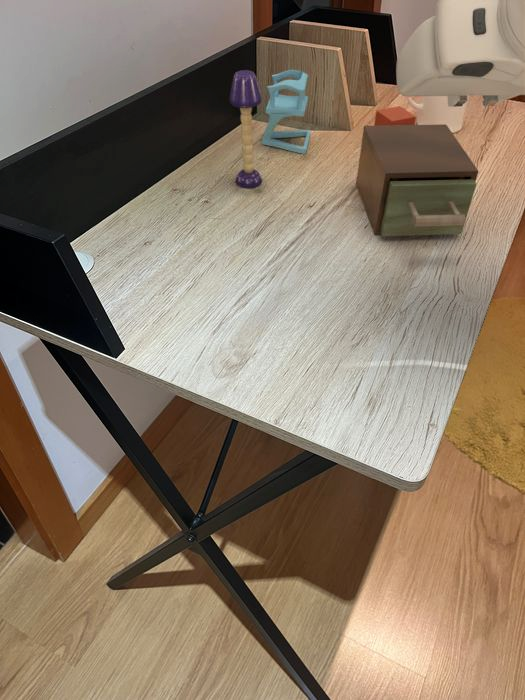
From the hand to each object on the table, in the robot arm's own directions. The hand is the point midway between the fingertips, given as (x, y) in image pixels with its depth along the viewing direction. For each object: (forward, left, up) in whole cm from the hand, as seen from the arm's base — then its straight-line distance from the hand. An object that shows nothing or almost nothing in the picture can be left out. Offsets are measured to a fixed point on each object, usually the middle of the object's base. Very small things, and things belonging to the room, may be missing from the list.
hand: (471, 99), depth 63 cm
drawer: (-3, -8, -20) cm, 22 cm away
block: (-16, -32, -21) cm, 42 cm away
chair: (+2, -39, -22) cm, 45 cm away
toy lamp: (+14, -29, -22) cm, 39 cm away
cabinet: (-5, -12, -21) cm, 25 cm away
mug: (-27, -35, -22) cm, 49 cm away
